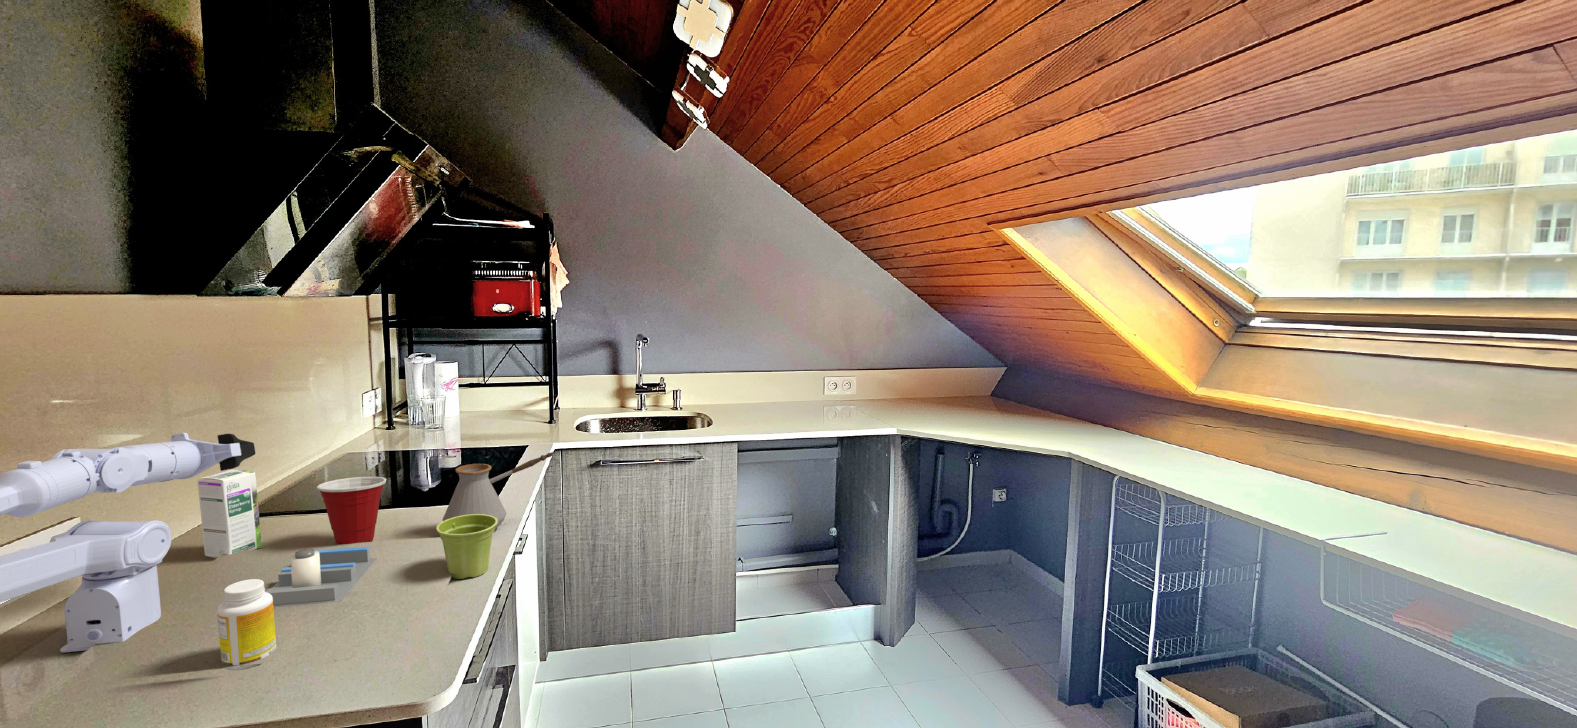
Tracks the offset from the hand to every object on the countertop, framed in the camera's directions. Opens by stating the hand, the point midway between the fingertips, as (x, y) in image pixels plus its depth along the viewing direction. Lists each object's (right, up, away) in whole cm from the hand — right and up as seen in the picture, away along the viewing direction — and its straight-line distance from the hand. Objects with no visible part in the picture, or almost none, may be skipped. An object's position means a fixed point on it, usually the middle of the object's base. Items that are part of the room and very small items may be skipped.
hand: (228, 453), depth 108 cm
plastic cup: (+12, -19, +14) cm, 27 cm away
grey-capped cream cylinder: (+19, -21, -8) cm, 29 cm away
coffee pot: (+35, -19, +24) cm, 46 cm away
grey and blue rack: (+18, -21, -4) cm, 28 cm away
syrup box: (-6, -19, +8) cm, 22 cm away
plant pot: (+39, -21, +3) cm, 44 cm away
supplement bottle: (+23, -24, -24) cm, 41 cm away
